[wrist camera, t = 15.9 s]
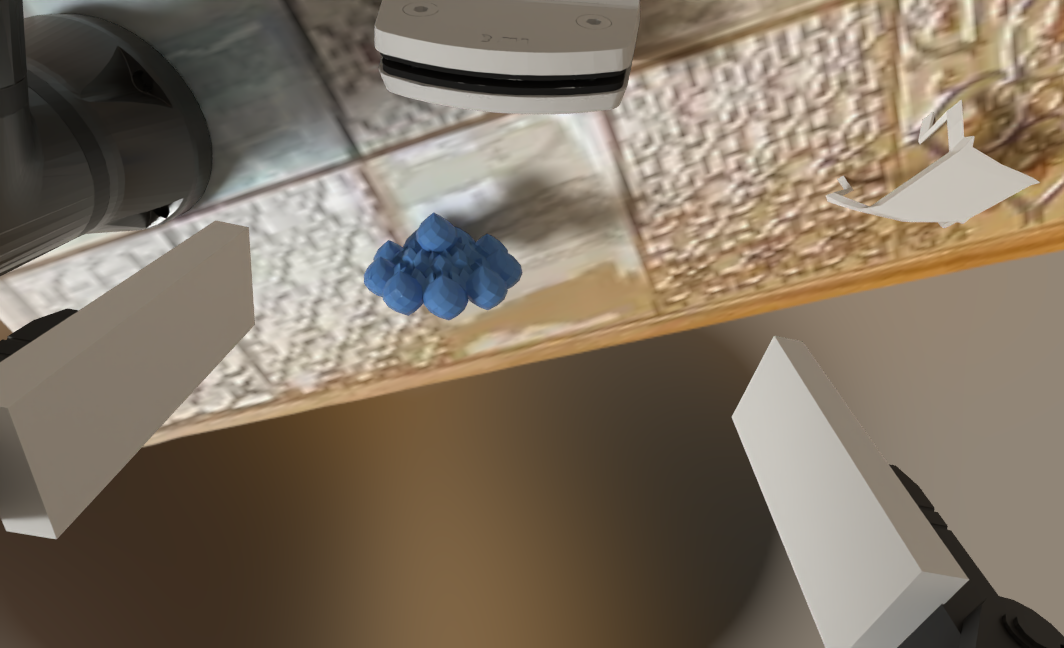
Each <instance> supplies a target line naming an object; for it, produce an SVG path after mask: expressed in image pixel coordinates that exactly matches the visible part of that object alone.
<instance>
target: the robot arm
mask: <svg viewBox="0 0 1064 648" xmlns="http://www.w3.org/2000/svg"><path fill="white" fill-rule="evenodd" d="M211 166H212V149H211V141H210V136H209V132H208V128H207V125H206V122H205V119H204V116H203V114H202V111H201V109H200V107H199V105H198V103H197V101H196V99H195V97H194V96H193V94H192V92H191V91H190V89H189V88H188V86H187V85H186V83H185V82H184V80H183V79H182V78H181V76H180V75H179V74H178V73H177V71H176V70H175V69H174V68H173V67H172V66H171V65H170V63H169V62H168V61H167V60H166V59H165V58H164V57H163V56H162V55H160V54H159V53H158V52H157V51H156V50H155V49H154V48H152V47H151V46H150V45H149V44H147V43H146V42H145V41H143V40H142V39H141V38H139V37H138V36H136V35H134V34H133V33H131V32H129V31H128V30H126V29H124V28H122V27H120V26H118V25H116V24H113V23H111V22H108V21H106V20H103V19H99V18H96V17H92V16H87V15H80V14H48V15H37V16H31V17H28V18H24V17H23V1H22V0H0V276H2V275H4V274H6V273H8V272H10V271H12V270H13V269H15V268H17V267H19V266H21V265H23V264H25V263H27V262H29V261H31V260H33V259H35V258H37V257H39V256H41V255H43V254H45V253H47V252H49V251H51V250H53V249H55V248H57V247H59V246H61V245H63V244H65V243H67V242H69V241H71V240H73V239H75V238H77V237H79V236H81V235H84V234H89V233H104V232H119V231H133V230H143V229H148V228H152V227H156V226H159V225H161V224H164V223H166V222H168V221H170V220H172V219H174V218H175V217H177V216H179V215H181V214H183V213H184V212H186V211H188V210H189V209H190V208H191V207H192V206H194V205H195V204H196V202H197V201H198V200H199V199H200V197H201V196H202V194H203V193H204V191H205V189H206V186H207V184H208V181H209V178H210V173H211ZM254 325H255V320H254V304H253V288H252V273H251V257H250V242H249V227H244V226H240V225H235V224H230V223H225V222H220V221H214V222H213V223H211V224H210V225H208V226H207V227H205V228H204V229H202V230H201V231H199V232H198V233H196V234H195V235H193V236H191V237H190V238H188V239H187V240H185V241H184V242H182V243H181V244H179V245H178V246H176V247H175V248H173V249H172V250H170V251H169V252H167V253H166V254H164V255H163V256H161V257H160V258H158V259H157V260H155V261H153V262H152V263H150V264H149V265H147V266H146V267H144V268H143V269H141V270H140V271H138V272H137V273H135V274H134V275H132V276H131V277H129V278H128V279H126V280H125V281H123V282H122V283H120V284H119V285H117V286H116V287H114V288H112V289H111V290H109V291H108V292H106V293H105V294H103V295H102V296H100V297H99V298H97V299H96V300H94V301H93V302H91V303H90V304H88V305H87V306H85V307H84V308H82V309H81V310H79V311H78V310H73V309H65V310H62V311H59V312H56V313H53V314H50V315H47V316H44V317H41V318H39V319H36V320H33V321H32V322H30V323H28V324H27V325H25V326H24V327H22V328H20V329H19V330H17V331H15V332H14V333H12V334H11V335H9V336H8V338H7V340H1V341H0V518H1V520H2V522H3V524H4V526H5V529H6V531H10V532H16V533H22V534H28V535H34V536H40V537H47V538H52V539H57V538H58V537H59V536H60V535H61V534H62V533H63V532H64V531H65V530H66V528H67V527H68V526H69V525H70V524H71V523H72V522H73V521H74V520H75V519H76V518H77V516H79V514H80V513H81V512H82V511H83V510H84V509H85V508H86V507H87V506H88V505H89V504H90V503H91V501H92V500H93V499H94V498H95V497H96V496H97V495H98V494H99V493H100V492H101V491H102V490H103V489H104V487H105V486H106V485H107V484H108V483H109V482H110V481H111V480H112V479H113V478H114V477H115V475H116V474H117V473H118V472H119V471H120V470H121V469H122V468H123V467H124V466H125V465H126V464H127V462H128V461H129V460H130V459H131V458H132V457H133V456H134V455H135V454H136V453H137V451H139V449H140V448H141V447H142V446H143V445H144V444H145V443H146V442H147V441H148V440H149V439H150V438H151V436H152V435H153V434H154V433H155V432H156V431H157V430H158V429H159V428H160V427H161V426H162V425H163V423H164V422H165V421H166V420H167V419H168V418H169V417H170V416H171V415H172V414H173V413H174V412H175V410H176V409H177V408H178V407H179V406H180V405H181V404H182V403H183V402H184V401H185V400H186V399H187V397H188V396H189V395H190V394H191V393H192V392H193V391H194V390H195V389H196V388H197V387H198V386H199V384H200V383H201V382H202V381H203V380H204V379H205V378H206V377H207V376H208V375H209V374H210V373H211V371H212V370H213V369H214V368H215V367H216V366H217V365H218V364H219V363H220V362H221V361H222V360H223V358H224V357H225V356H226V355H227V354H228V353H229V352H230V351H231V350H232V349H233V348H234V347H235V345H236V344H237V343H238V342H239V341H240V340H241V339H242V338H243V337H244V336H245V335H246V334H247V332H248V331H249V330H250V329H251V328H252V327H253V326H254ZM732 419H733V421H734V424H735V426H736V429H737V431H738V434H739V436H740V439H741V441H742V443H743V446H744V448H745V451H746V453H747V456H748V458H749V461H750V463H751V466H752V468H753V471H754V473H755V475H756V478H757V480H758V483H759V485H760V488H761V490H762V493H763V495H764V497H765V500H766V503H767V505H768V507H769V510H770V512H771V515H772V517H773V520H774V522H775V525H776V527H777V530H778V532H779V535H780V537H781V540H782V542H783V544H784V547H785V549H786V552H787V554H788V557H789V559H790V562H791V564H792V567H793V569H794V572H795V574H796V577H797V579H798V581H799V584H800V586H801V589H802V591H803V594H804V596H805V598H806V601H807V604H808V606H809V609H810V611H811V613H812V616H813V618H814V621H815V623H816V626H817V628H818V631H819V633H820V636H821V638H822V640H823V643H824V645H825V648H1064V636H1063V635H1062V634H1061V633H1060V632H1058V630H1057V629H1056V628H1055V627H1054V626H1053V625H1052V624H1051V623H1049V622H1048V621H1046V620H1045V619H1044V618H1043V617H1041V616H1040V615H1039V614H1037V613H1036V612H1035V611H1033V610H1032V609H1030V608H1028V607H1026V606H1024V605H1022V604H1020V603H1018V602H1016V601H1014V600H1011V599H1008V598H1004V597H1000V596H998V594H997V593H996V592H995V591H994V589H993V588H992V586H991V585H990V583H989V582H988V581H987V580H986V578H985V577H984V575H983V574H982V573H981V571H980V570H979V568H978V567H977V566H976V565H975V563H974V562H973V560H972V559H971V557H970V556H969V555H968V554H967V552H966V551H965V549H964V548H963V546H962V545H961V544H960V542H959V541H958V540H957V538H956V537H955V535H954V534H953V533H952V531H950V530H947V524H946V523H945V522H944V520H943V519H942V518H941V516H940V515H939V513H938V512H934V507H933V505H932V504H931V503H930V501H929V500H928V498H927V497H926V496H925V495H924V493H923V492H922V490H921V489H920V488H919V486H918V485H917V484H916V483H914V482H913V481H912V480H911V479H910V478H909V477H908V476H907V475H906V474H904V473H903V472H902V471H901V470H900V469H899V468H898V467H896V466H894V465H889V464H888V463H887V461H886V460H885V459H884V457H883V456H882V454H881V453H880V451H879V450H878V448H877V447H876V446H875V444H874V443H873V441H872V440H871V438H870V437H869V436H868V434H867V433H866V431H865V430H864V428H863V427H862V426H861V424H860V423H859V421H858V420H857V418H856V417H855V416H854V414H853V413H852V411H851V410H850V408H849V407H848V405H847V404H846V403H845V401H844V400H843V398H842V397H841V395H840V394H839V393H838V391H837V390H836V389H835V387H834V385H833V384H832V383H831V381H830V380H829V378H828V377H827V376H826V374H825V373H824V372H823V370H822V368H821V367H820V365H819V364H818V363H817V361H816V360H815V358H814V357H813V356H812V354H811V353H810V351H809V350H808V348H807V347H806V346H805V344H804V343H803V342H802V341H798V340H793V339H788V338H783V337H778V336H774V337H773V339H772V341H771V343H770V345H769V347H768V349H767V351H766V352H765V354H764V356H763V358H762V361H761V362H760V364H759V366H758V368H757V370H756V372H755V374H754V375H753V377H752V379H751V381H750V383H749V385H748V387H747V389H746V391H745V393H744V395H743V397H742V399H741V400H740V402H739V404H738V406H737V408H736V410H735V412H734V414H733V416H732Z"/></svg>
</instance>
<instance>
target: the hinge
mask: <svg viewBox="0 0 1064 648" xmlns="http://www.w3.org/2000/svg"><path fill="white" fill-rule="evenodd" d="M639 24H640V0H382V2H381V6H380V9H379V12H378V16H377V19H376V22H375V48H376V50H377V51H379V52H380V54H381V55H382V57H381V61H380V65H379V72H380V74H381V77H382V79H383V81H384V84H385V86H386V89H387V90H388V91H389V92H391V93H394V94H398V95H401V96H404V97H408V98H412V99H416V100H420V101H424V102H428V103H433V104H439V105H444V106H449V107H455V108H461V109H468V110H477V111H487V112H496V113H512V114H570V113H583V112H594V111H602V110H611V109H614V108H616V107H618V106H619V105H620V103H621V100H622V98H623V95H624V93H625V90H626V88H627V85H628V80H629V75H630V70H631V65H632V60H633V55H634V51H635V46H636V38H637V33H638V28H639Z"/></svg>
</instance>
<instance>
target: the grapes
mask: <svg viewBox="0 0 1064 648" xmlns="http://www.w3.org/2000/svg"><path fill="white" fill-rule="evenodd" d="M521 275H522V269H521V265H520V264H519V263H518V261H517V260H516V259H515V258H514V257H513V256H512V255H510V254H509V253H508V250H507V249H506V247H505V246H504V245H503V244H502V243H501V242H500V241H499V240H497V239H496V238H494V237H493V236H491V235H489V234H486V235H484V236H482V237H481V238H480V239H479V240H478V241H477V242H475V241H474V239H473V238H472V237H471V236H470V235H469V234H468V233H466V232H465V231H463V230H461V229H459V228H457V227H454V226H453V225H452V224H451V223H450V222H449V221H447V220H446V219H444V218H443V217H441V216H439V215H437V214H435V213H432V214H431V215H430V216H429V217H427V218H426V219H425V220H424V221H423V222H422V223H421V225H420V227H419V229H418V230H416V231H415V232H414V233H413V234H412V235H411V236H409V237H408V239H407V240H406V242H405V244H404V246H403V247H401V246H400V245H398V244H396V243H394V242H392V241H389V240H388V241H387V242H386V243H385V244H383V245H382V246H381V247H380V248H379V249H378V251H377V253H376V255H375V257H374V262H372V263H371V264H370V265H369V267H368V268H367V270H366V272H365V274H364V284H365V285H366V286H367V288H368V289H369V290H370V291H371V292H373V293H374V294H376V295H378V296H381V297H383V300H384V302H385V303H386V304H387V305H388V307H389V308H391V309H393V310H395V311H396V312H398V313H402V314H405V315H408V316H409V315H410V314H412V313H414V312H415V311H416V310H417V309H418V308H419V307H420V306H421V305H422V304H423V302H424V305H425V306H426V307H427V309H428V310H429V311H430V312H431V313H433V314H434V315H436V316H438V317H440V318H443V319H446V320H451V319H453V318H454V317H456V316H458V315H459V314H460V313H461V312H462V311H463V310H464V309H465V307H466V305H467V303H468V299H469V300H470V301H471V302H472V303H474V304H475V305H477V306H479V307H481V308H483V309H486V310H489V309H491V308H493V307H495V306H497V305H498V304H499V303H500V302H502V301H503V300H504V298H505V296H506V294H507V291H508V290H507V289H509V288H511V287H512V286H514V285H515V284H516V283H517V282H518V281H519V280H520V277H521Z"/></svg>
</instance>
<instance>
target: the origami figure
mask: <svg viewBox="0 0 1064 648" xmlns="http://www.w3.org/2000/svg"><path fill="white" fill-rule="evenodd" d="M934 117H935V115H934V112H932V113H931V114H929V115H928V116H927V117H925V118H924V119H923V120H922V125H921V130H920V135H919V140H918V141H919V143H920V144H921V143H922V142H924V141H925V140H926V139H928V138H929V137H930V136H931V135H932V134H933V133H935V132H936V131H937V130H938V129H939V128H940V127H941V126H942V125H943V124H945V123H946V122H947V126H948V141H949V152H948V153H947V154H946V155H944V156H943V157H941V158H940V159H938V160H937V161H935V162H934V163H933V164H931V165H930V166H928V167H927V168H925V169H924V170H922V171H921V172H920V173H918V174H917V175H915V176H914V177H912V178H911V179H909V180H908V181H907V182H905V183H904V184H902V185H901V186H899V187H898V188H896V189H895V190H894V191H892V192H891V193H889V194H888V195H886V196H885V197H883V198H882V199H880V200H879V201H878V202H876V203H875V204H873V205H872V206H867V205H864V204H862V203H859V202H857V201H854V200H852V199H849V198H846V197H844V196H843V195H845V194H847V193H849V192H851V191H853V188H852V187H851V186H850V184H849V183H848V182H847V180H846V179H845V177H844V176H842V177H840V178H838V179H837V180H838V181H839V183H840V184H841V185H842V187H843V188H844V190H841V191H837V192H834V193H831V194H828V195H826V198H827V201H828V202H831V203H834V204H837V205H839V206H842V207H845V208H849V209H853V210H856V211H860V212H864V213H868V214H872V215H877V216H881V217H885V218H890V219H894V220H898V221H902V222H938V223H939V224H940V226H941V227H943V228H946V227H948V226H951V225H953V224H954V223H956V222H958V223H962V224H964V223H965V222H966V221H967V220H969V219H970V218H971V217H973V216H975V215H977V214H979V213H981V212H982V211H984V210H986V209H988V208H990V207H992V206H993V205H995V204H997V203H999V202H1001V201H1003V200H1004V199H1006V198H1008V197H1010V196H1012V195H1014V194H1015V193H1017V192H1019V191H1021V190H1023V189H1025V188H1027V187H1028V186H1030V185H1033V184H1037V183H1040V182H1039V181H1037V180H1036V179H1034V178H1032V177H1030V176H1028V175H1025V174H1023V173H1021V172H1019V171H1016V170H1014V169H1011V168H1009V167H1007V166H1004V165H1002V164H1000V163H999V162H997V161H995V160H994V159H992V158H990V157H989V156H987V155H985V154H983V153H982V152H980V151H978V150H977V149H975V148H973V142H974V136H970V137H964V130H963V105H962V100H960V101H959V102H958V103H957V104H955V105H954V106H953V107H951V108H950V109H949V110H948V111H946V112H945V113H944V115H943V116H942V117H941V118H940V119H939V120H938V121H937V122H936V123H935V124H934V125H933V121H934ZM932 125H933V126H932Z"/></svg>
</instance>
